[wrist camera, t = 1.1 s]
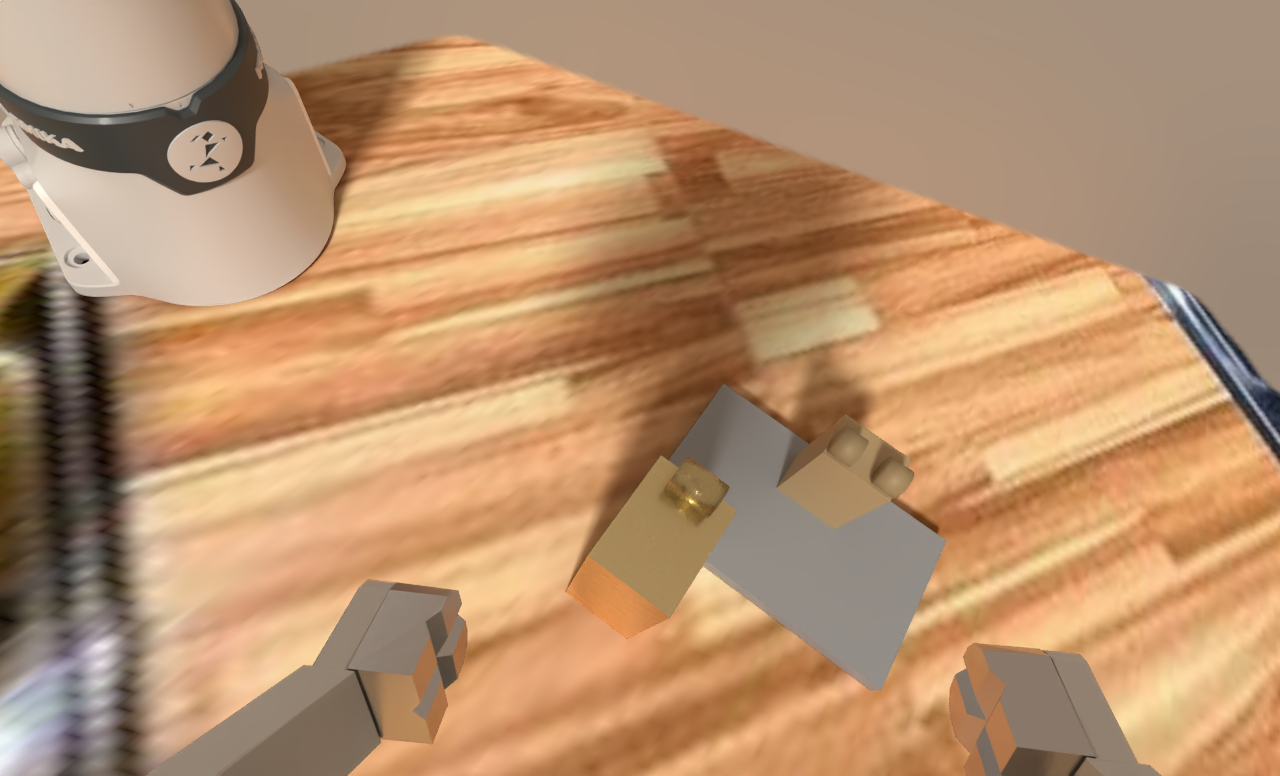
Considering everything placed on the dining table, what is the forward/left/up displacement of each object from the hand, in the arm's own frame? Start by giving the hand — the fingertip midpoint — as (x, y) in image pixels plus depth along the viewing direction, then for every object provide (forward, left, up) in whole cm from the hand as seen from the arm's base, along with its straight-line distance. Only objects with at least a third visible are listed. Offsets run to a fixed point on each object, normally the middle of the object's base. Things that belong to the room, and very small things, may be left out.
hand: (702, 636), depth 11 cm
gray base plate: (+4, +17, -30) cm, 34 cm away
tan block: (-2, +7, -30) cm, 31 cm away
